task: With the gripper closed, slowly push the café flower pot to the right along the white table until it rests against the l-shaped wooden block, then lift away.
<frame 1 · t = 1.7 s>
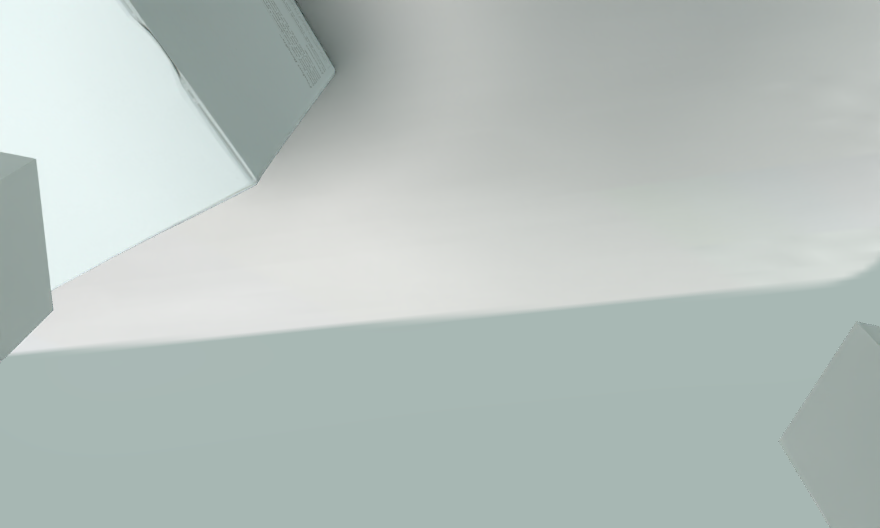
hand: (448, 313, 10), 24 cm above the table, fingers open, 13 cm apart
supplement box: (217, 35, 31), on the table
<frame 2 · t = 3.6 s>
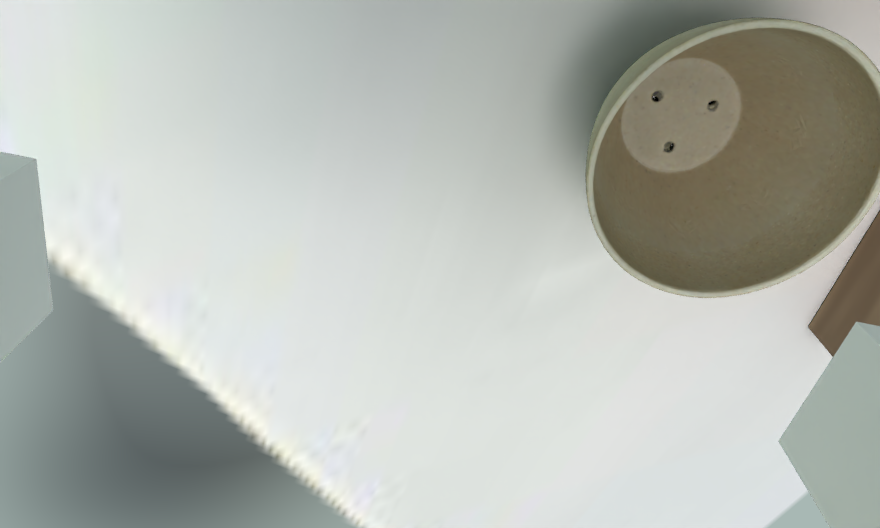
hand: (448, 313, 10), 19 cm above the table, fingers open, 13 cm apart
flower pot: (673, 113, 28), on the table
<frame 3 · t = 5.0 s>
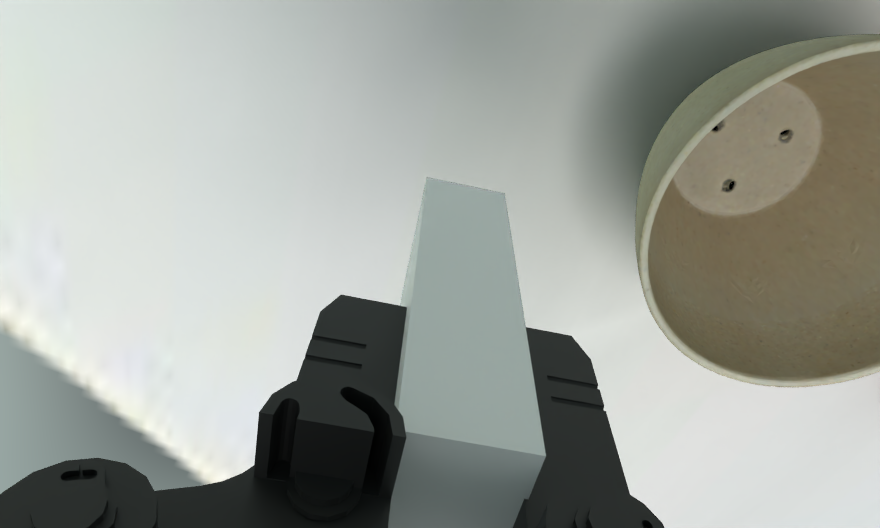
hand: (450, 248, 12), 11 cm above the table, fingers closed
flower pot: (734, 144, 23), on the table
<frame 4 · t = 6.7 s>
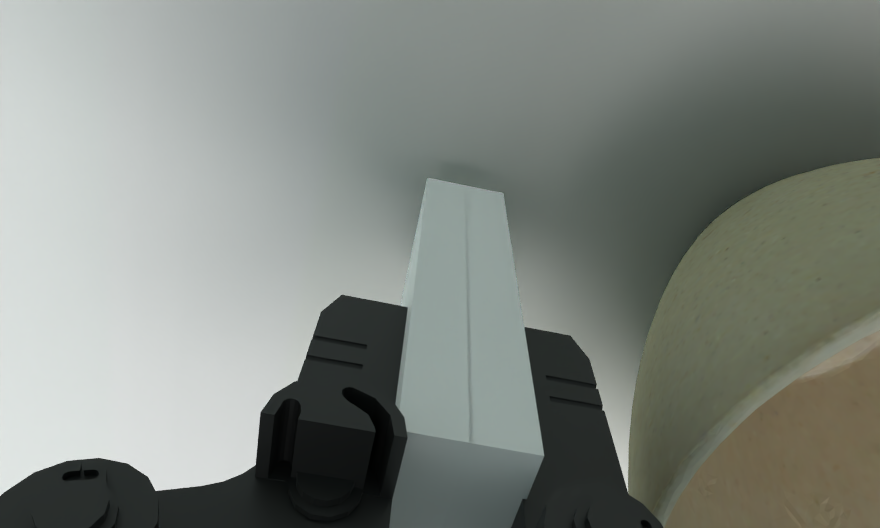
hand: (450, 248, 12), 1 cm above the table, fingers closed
flower pot: (783, 275, 14), on the table, touching gripper
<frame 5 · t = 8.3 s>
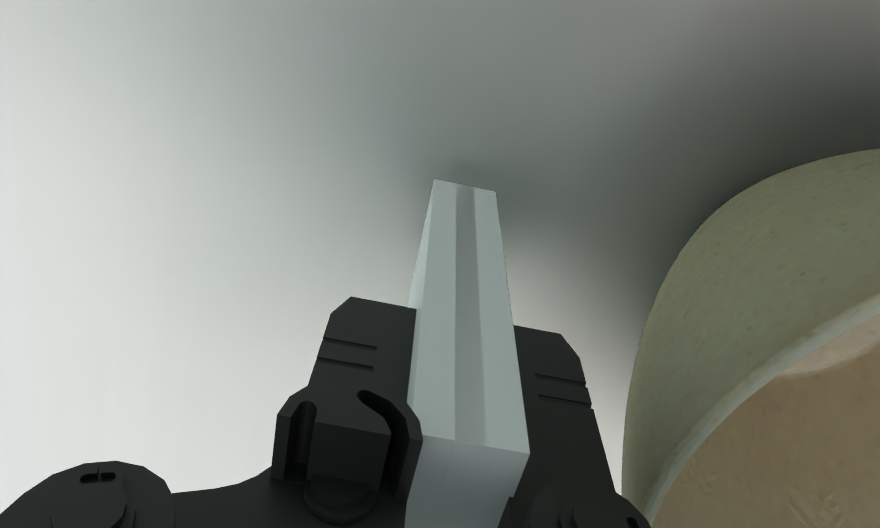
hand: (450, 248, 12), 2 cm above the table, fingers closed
flower pot: (785, 269, 14), on the table, touching l-shaped wooden block, gripper
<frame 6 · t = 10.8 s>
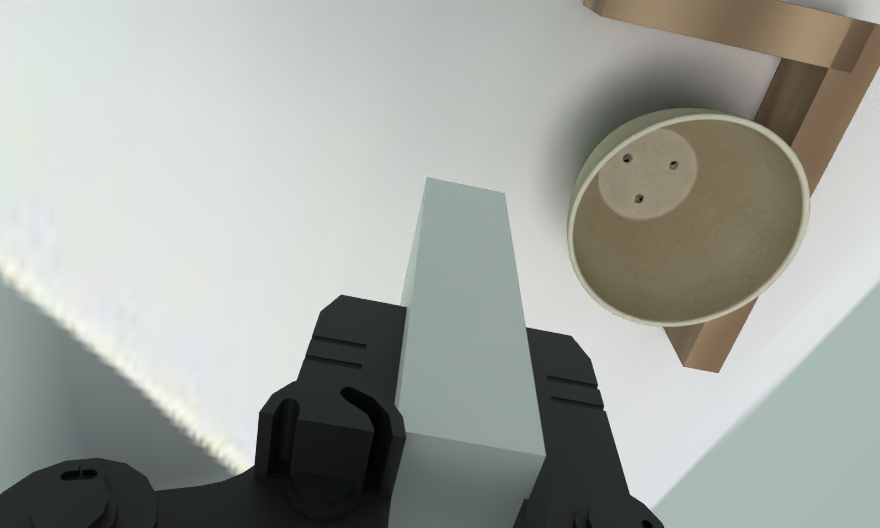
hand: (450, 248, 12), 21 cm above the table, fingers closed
flower pot: (642, 170, 33), on the table
l-shaped wooden block: (742, 189, 33), on the table
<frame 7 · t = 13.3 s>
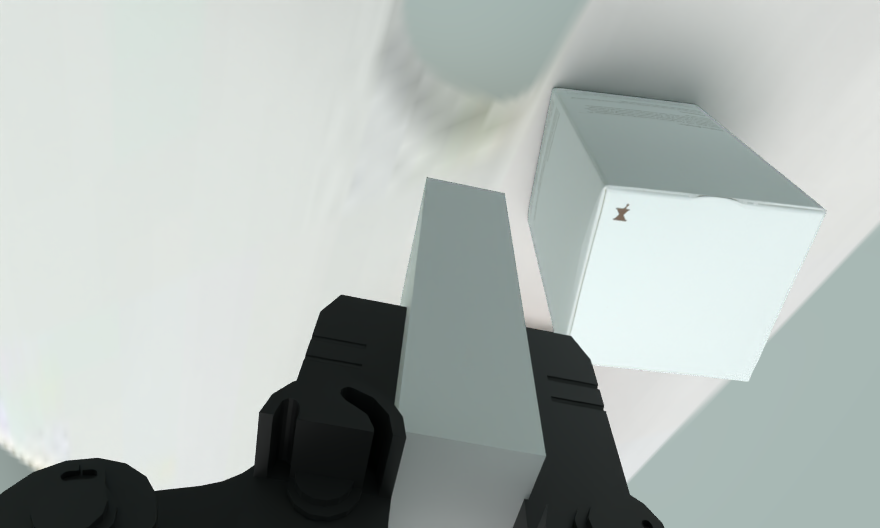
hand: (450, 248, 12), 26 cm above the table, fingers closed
supplement box: (608, 164, 39), on the table
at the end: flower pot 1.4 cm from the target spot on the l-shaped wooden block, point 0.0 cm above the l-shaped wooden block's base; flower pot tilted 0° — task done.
